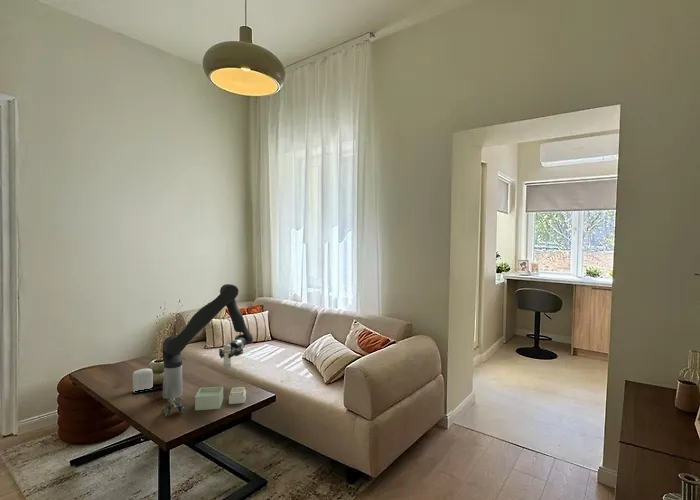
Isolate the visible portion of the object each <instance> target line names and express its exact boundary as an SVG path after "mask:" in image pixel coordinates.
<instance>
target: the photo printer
mask: <svg viewBox="0 0 700 500" xmlns="http://www.w3.org/2000/svg"><path fill="white" fill-rule="evenodd" d="M153 376H154V371H153V369H152V368H140V369H137V370H134V372H133V373H132V392H133V393H136V392H135V391H138V390H144V389H150V388H152V387H153V385H154V381H153V380H154V377H153ZM150 390H151V389H150Z"/></svg>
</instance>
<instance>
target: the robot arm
mask: <svg viewBox="0 0 700 500" xmlns="http://www.w3.org/2000/svg"><path fill="white" fill-rule="evenodd" d="M238 296H239V288H238V286H237V285H235V284H229V283H226V284H223V285H221V287H220V289H219V295H218V296H217V297H215V298H214V299H213V300H212V301H210V302H209V303H207V304H205V305H203V306H202V307H201V308H200V309H199V310H198V311H196V312H195V314H193V316H192V317H191V318H190V320H189V321H188V323H187V324H186V326H185V328H184V329H183V330H182V331H181V332H180V333H178V334H177V335H176V336H175V335H172V336H171V335H170V336H168V337H166V338H165V339H164V340H163V342H162V362H163V378H164V379H163V382H162V399H163V400H167V399H166V397H167V398H168V397H170V398H171V397H172V398H175V399H176V400H177V399H180V398H179V397H178V396H180V397H183V359H182V357H181V352H183V351H184V349H185V348H186V347H187V345H189V343H190V342H191V341H192V340H193V339H194V338H195V337H196V336H197V335H198V334H199V333H200V332H201V331H202V330H203V329H204V328H205V327H206V326H207V325H209V324H210V323H211V322H212V321H213V320H214V319H215V317H216V316H217V315H218V314H219V313H220V312H221V311H222V310H223V309H224V308H225V307H226V308H227V311H228V313H229V316H230V317H229V318H230V320H231V324H232V327H233V330H234V332H236V333H242V334H238V335H236V336H235V338H234V340H232V341H231V342H230V343H228V344H229V345H231V353H229V358H233V357H239V356H240V355H242V354H244V348H245V347H246V346H247V345H251V344H252V343H253V341H254V339H253V338H254V337H253V335H252V333H251V332H250V331H249V329H248V327H247V325H246V323H245V319H244V316H243V314H242V312H241V310H240V309H239V305H238V304H237V302H236V298H237V297H238ZM218 353H219V354H218V355H219V357H220V359H224V349H223V348H219V349H218Z"/></svg>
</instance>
